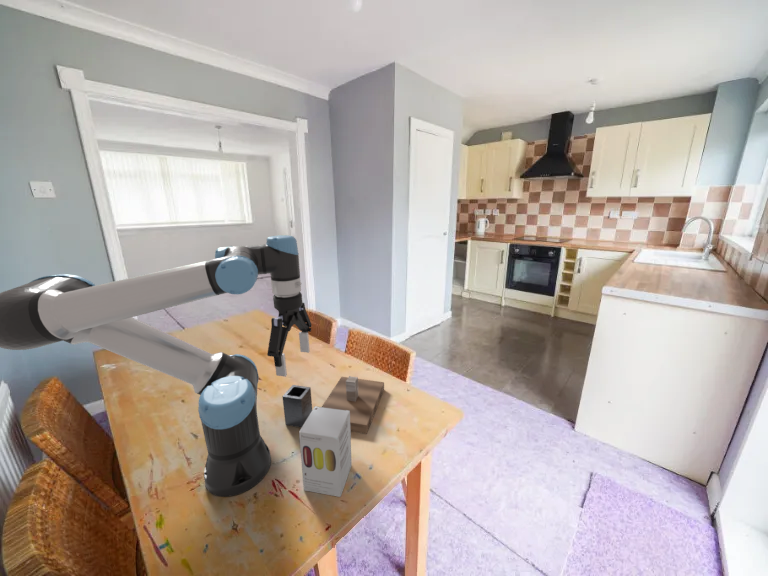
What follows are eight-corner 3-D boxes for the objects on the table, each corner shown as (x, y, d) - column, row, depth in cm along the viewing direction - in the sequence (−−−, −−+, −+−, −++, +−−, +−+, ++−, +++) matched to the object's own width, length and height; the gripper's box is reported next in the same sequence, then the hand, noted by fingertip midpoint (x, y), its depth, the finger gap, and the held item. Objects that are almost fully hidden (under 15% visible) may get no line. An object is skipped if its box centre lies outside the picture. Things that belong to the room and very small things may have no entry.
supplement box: (302, 491, 72) (296, 431, 67) (317, 459, 81) (313, 404, 76) (341, 498, 70) (338, 437, 65) (352, 464, 79) (350, 409, 74)
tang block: (366, 433, 89) (366, 404, 86) (315, 424, 93) (313, 396, 90) (384, 389, 110) (384, 364, 107) (341, 383, 113) (340, 359, 110)
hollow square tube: (303, 428, 92) (301, 399, 89) (285, 424, 93) (282, 396, 90) (312, 414, 97) (310, 387, 94) (295, 411, 99) (292, 384, 96)
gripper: (273, 310, 71) (282, 389, 77) (319, 282, 94) (323, 344, 100) (245, 307, 73) (256, 385, 79) (297, 280, 96) (302, 342, 102)
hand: (294, 362), depth 90 cm, fingers open, 13 cm apart
